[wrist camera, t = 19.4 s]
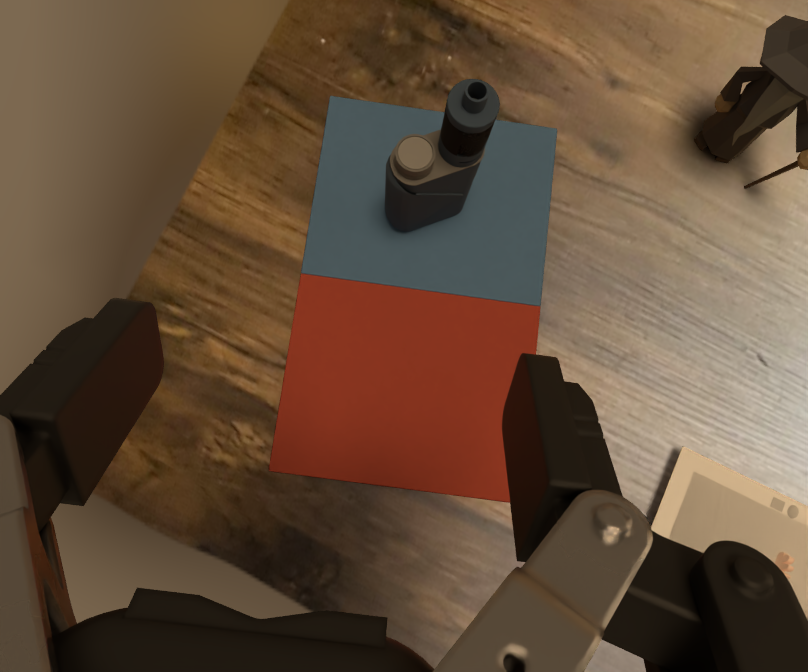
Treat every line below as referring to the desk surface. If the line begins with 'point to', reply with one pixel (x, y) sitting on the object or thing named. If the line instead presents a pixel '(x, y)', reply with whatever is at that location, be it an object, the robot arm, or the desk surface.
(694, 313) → the desk surface
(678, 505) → the touchpad
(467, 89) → the vaping device
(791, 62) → the wizard figurine
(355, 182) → the sorting mat
